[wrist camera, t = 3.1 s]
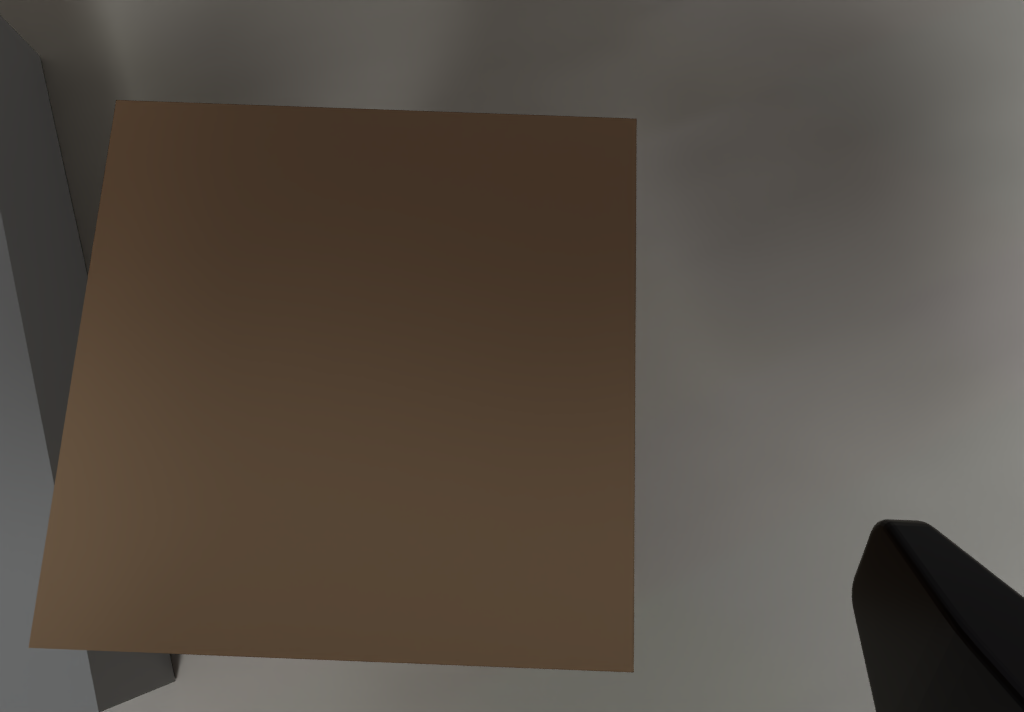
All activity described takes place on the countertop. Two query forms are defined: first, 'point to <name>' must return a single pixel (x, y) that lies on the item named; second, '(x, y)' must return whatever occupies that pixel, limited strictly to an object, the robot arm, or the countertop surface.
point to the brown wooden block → (353, 391)
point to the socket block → (41, 398)
